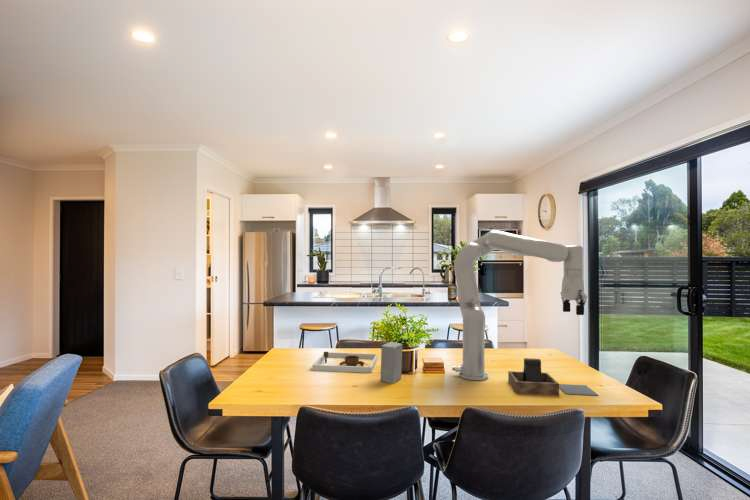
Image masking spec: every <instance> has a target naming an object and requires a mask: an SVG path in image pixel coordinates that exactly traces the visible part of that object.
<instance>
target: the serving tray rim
mask: <svg viewBox="0 0 750 500" xmlns="http://www.w3.org/2000/svg"><path fill="white" fill-rule="evenodd" d="M327 352H328V357H327V358H331V359H333V358H334V359H345V357H346V356H358V357H359V360H361V359H362V360H363V359H364V360H372V361H371V363H370V365H369V366H363V367H361V365H356V366H348V365H342V366H340V365H333V364H331V365H330V364H323V362H325V358H324V353H322V355H321V356H320V357H319V358H318V359H317V360H316V361H314V363H313V364H312V371H317V372H340V373H342V372H343V373H361V374H364V373H366V374H367V373H368V374H370V373H371V374H372V373H373V370H374V369H375V366H376V364H377V362H378V359H379V354H377V353H360V352H359V353H356V352H334V351H333V352H330V351H327Z"/></svg>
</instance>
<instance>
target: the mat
mask: <svg viewBox="0 0 750 500" xmlns="http://www.w3.org/2000/svg"><path fill="white" fill-rule="evenodd" d="M559 390H560V391H561V392H562V393H563V394H565V395H566V394H567V395H569V396H587V397H588V396H590V397H592V396H593V397H599V394H598V393H597V392H595V391H594V390H593V389H592V388H590V387H589V386H587V385H586V384H566V383H565V384H564V383H559Z"/></svg>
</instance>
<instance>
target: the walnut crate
mask: <svg viewBox="0 0 750 500" xmlns="http://www.w3.org/2000/svg"><path fill="white" fill-rule="evenodd" d="M507 373H508V375H507V376H508V380H507V382H508V384H509V385H510V386H511V388H512V389H513V391H514V392H515V394H517V393H518V395H519V394H521V395H538V394H540V396H542V395H543V396H560V388H559V384H560V383H559V381H557V380H556V379H555V378H553V376H551V375H550V374H549V372H541V373H542V382H523V371H511V370H510V371H508V372H507Z"/></svg>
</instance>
